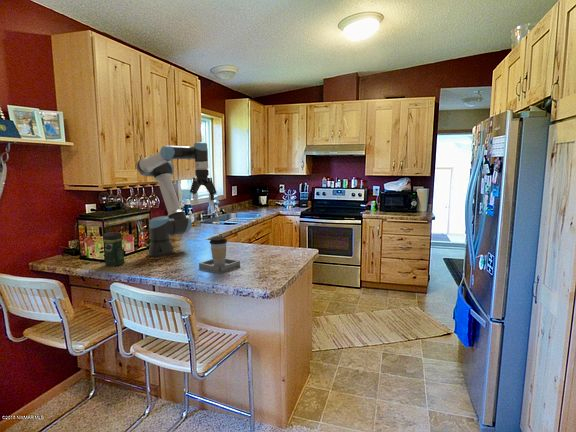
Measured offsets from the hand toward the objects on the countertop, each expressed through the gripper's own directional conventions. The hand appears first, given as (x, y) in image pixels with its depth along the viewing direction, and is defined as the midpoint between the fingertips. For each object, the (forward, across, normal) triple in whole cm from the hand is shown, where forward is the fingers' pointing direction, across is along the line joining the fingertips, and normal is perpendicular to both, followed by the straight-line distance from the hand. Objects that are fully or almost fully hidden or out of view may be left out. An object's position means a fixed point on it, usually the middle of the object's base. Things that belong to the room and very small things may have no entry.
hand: (203, 205), depth 205 cm
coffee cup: (+31, +23, -11) cm, 40 cm away
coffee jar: (+32, -32, -39) cm, 60 cm away
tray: (+32, +23, -11) cm, 41 cm away
